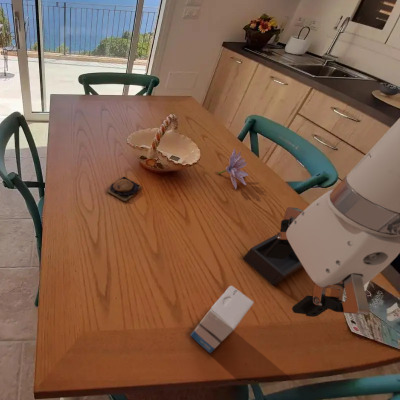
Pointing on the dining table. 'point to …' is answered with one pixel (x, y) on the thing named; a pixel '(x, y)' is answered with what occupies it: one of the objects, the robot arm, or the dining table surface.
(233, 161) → the water lily
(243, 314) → the ink box
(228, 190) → the dining table surface
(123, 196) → the square push button
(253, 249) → the holder
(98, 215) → the dining table surface
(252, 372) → the dining table surface
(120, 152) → the dining table surface
